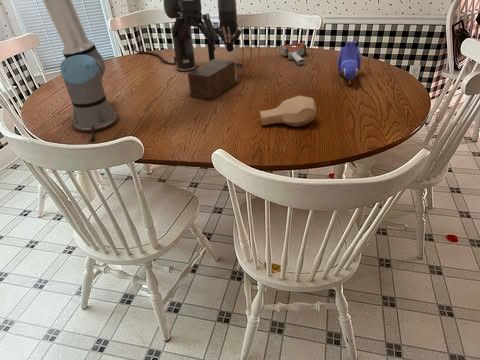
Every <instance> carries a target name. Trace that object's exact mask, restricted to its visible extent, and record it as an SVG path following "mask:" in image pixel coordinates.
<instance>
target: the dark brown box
mask: <svg viewBox="0 0 480 360" xmlns="http://www.w3.org/2000/svg"><path fill="white" fill-rule="evenodd" d="M235 62H236V61H235V60H229V59H220V58H219V59H218V58H215V59H213V60H211V61H210V60H209V61H208V62H206V63H204V64H202V65H200V66H199V67H196V68H195V69H193V70H190V72H189V71H188V73H187V78H188V79H187V80H188V87H189V92H190V97H192V98H198V99H202V100H209V101H213V100H214V99H215V98H216V97H218V96H220V95H221V94H222V93H224V92H225V91H227V90H229V89H230V88H231V87H233V86H234V85H236V83H237V80H236V79H235Z"/></svg>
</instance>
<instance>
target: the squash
mask: <svg viewBox="0 0 480 360" xmlns="http://www.w3.org/2000/svg"><path fill="white" fill-rule="evenodd" d="M317 109H318V107H317V104H316V101H315V99H314V98H312V97H310V96H305V95H300V94H299V95H296V96H293V97H291V98H287V99H284V100H283V101H282V102H281V103H280V104H279V105H278V106H277V107H275V108H271V109H266V110H260V111H259V112H258V115H259V116H258V117H259V118H260V123H261V125H262V126H268V125H272V124H285V125H288V126H291V127H294V128H295V127H304V126H306V125H308V124H309V123H311V122H313V121H314V120H315V117H316V115H317Z"/></svg>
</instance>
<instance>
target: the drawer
mask: <svg viewBox="0 0 480 360" xmlns="http://www.w3.org/2000/svg"><path fill="white" fill-rule="evenodd" d="M234 62H235V79H236V81H237V80H238V75H237V69H239V68H243V63H241V62H236V61H234Z"/></svg>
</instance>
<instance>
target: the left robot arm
mask: <svg viewBox="0 0 480 360" xmlns="http://www.w3.org/2000/svg"><path fill="white" fill-rule="evenodd" d="M42 2H43V4H44V6H45V9H46V11H47V12H48V15H49V17H50V18H51V21H52V23H53V25H54V27H55V29H56V31H57V33H58V36H59V38H60V40H61V42H62V44H63V50H62V55H63V57H64V58H65V59H63V60H61V63H60V64H59V69H60V75H61V77H62V79H63V82H64V84H65V87H66V90H67V93H68V96H69V99H70V101H71V104H72V108H73V114H72V117H73V118H72V119H73V125H74V128H75V129H76V131H78V132H84V133H91V137H90V138H91V139H90V142H93V141H94V139H95V138H94V136H95V134H94V133H95V132H99V131H102V130H105V129H107V128H110V127H111V126H113V125H115V124H116V122H117V121H118V116H117V113H116V111H115V110H114V108H113V107H112V105H111V103H110V102H109V101H108V99H107V96H106V92H105V90H104V87H103V86H104V85H103V83H102V81H103V77H104V74H105V70H106V64H105V59H104V57H103V56H102V54H101V53H100V52H99V51H98V49H97V47H96V44H95V42H94V41H92V40H90V39H89V38H88V36H87V34H86V32H85V29H84V27H83V24H82V22H81V20H80V17H79V15H78V13H77V10H76V8H75V5H74V3H73V1H72V0H42ZM180 5H181V11H182V12H183V13H181V12H178V13H176V18H175V21H174V23H175V25H174V30H173V34H172V33H171V37H173V38H176V39H177V42H178V47H179V48H180V53H181V57H184V56H186V48H185V42H184V39H182V38H183V35H184V33H185V31H186V30H187V28H188V26H191V27H193V28H197V29H199V30H200V32H201V33H202V35H203V37H205V38H206V40H207V41H208V42H207V52H208V60H209V62H210V61H212V60H213V59H216V58H215V51H216V42H218V41H219V40H220V37H219V35H218V34H217V32H216V31H215V29H216V28H215V26H214V25H213V22H212V20H211V17H210V13H208V12H207V13H202V10H203V9H202V8H203V7H202V0H181V1H180ZM182 18H183V19H184V22H183V24H182V27H181V29H180V26H181V22H182ZM179 30H180V31H179ZM173 38H172V39H173Z"/></svg>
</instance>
